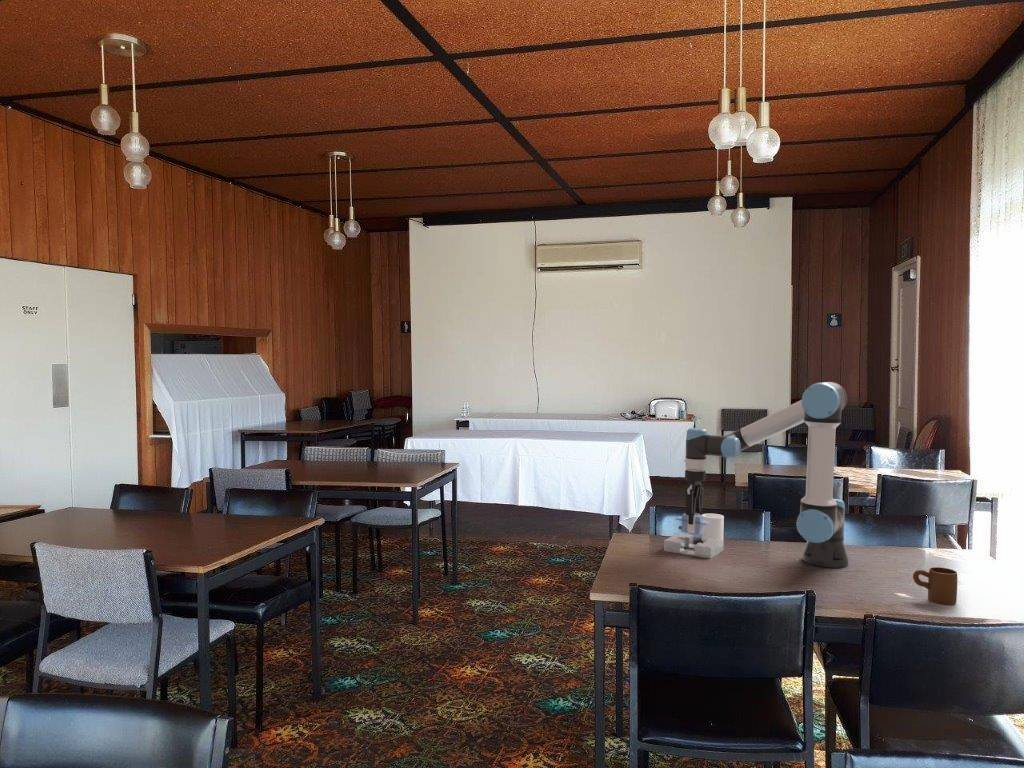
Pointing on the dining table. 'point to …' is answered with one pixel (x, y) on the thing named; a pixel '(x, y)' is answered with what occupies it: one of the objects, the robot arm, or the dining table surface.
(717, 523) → the cup
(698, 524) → the servo
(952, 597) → the mug
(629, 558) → the dining table surface
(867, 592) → the dining table surface
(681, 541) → the chassis
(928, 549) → the dining table surface
